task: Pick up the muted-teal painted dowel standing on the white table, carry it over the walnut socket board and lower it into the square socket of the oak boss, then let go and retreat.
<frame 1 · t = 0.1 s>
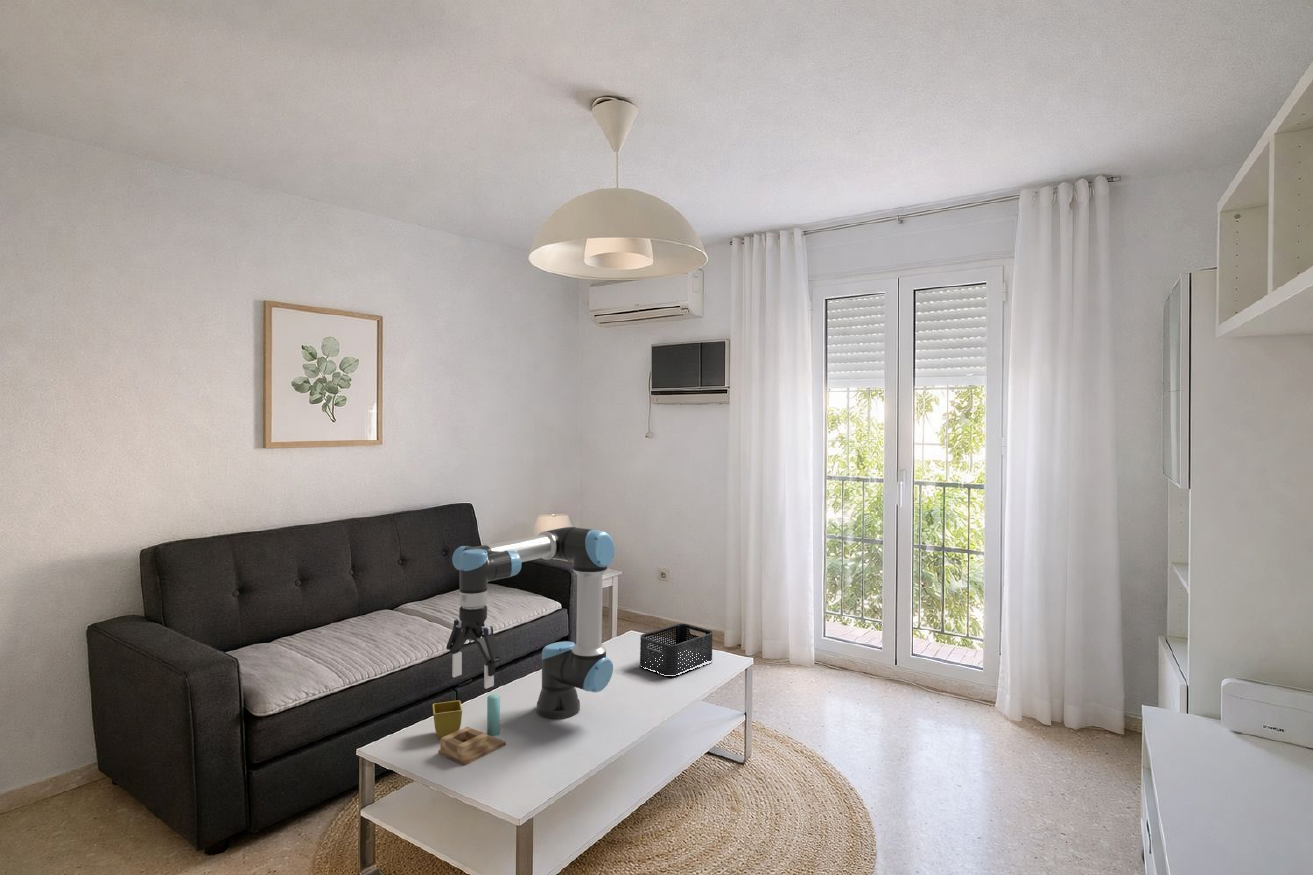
hand: (472, 681, 192), 28 cm above the table, fingers open, 13 cm apart
peg: (493, 733, 221), on the table
storage bin: (676, 665, 287), on the table
flower pot: (447, 734, 220), on the table
socket board: (464, 752, 208), on the table
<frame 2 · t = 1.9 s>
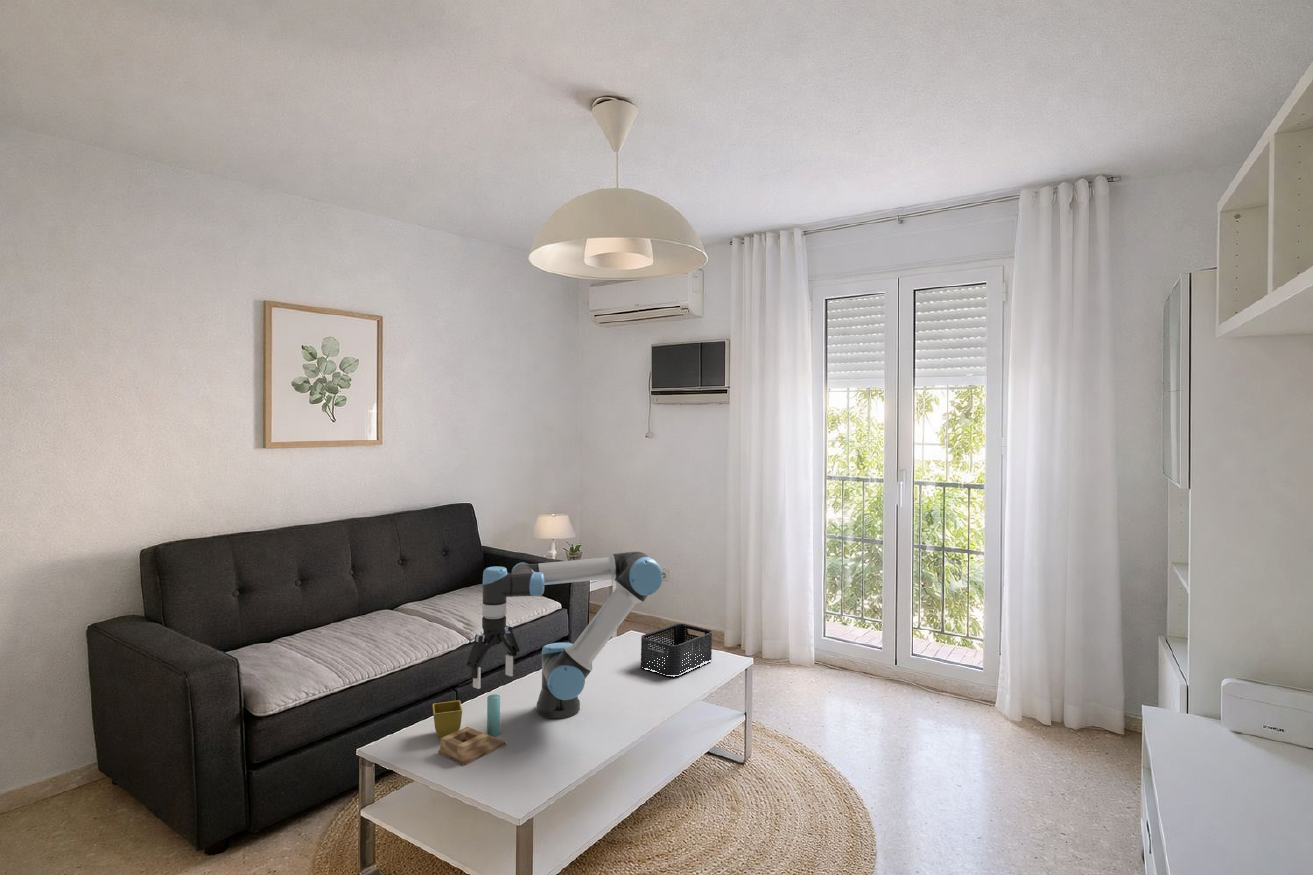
hand: (493, 681, 221), 17 cm above the table, fingers open, 13 cm apart
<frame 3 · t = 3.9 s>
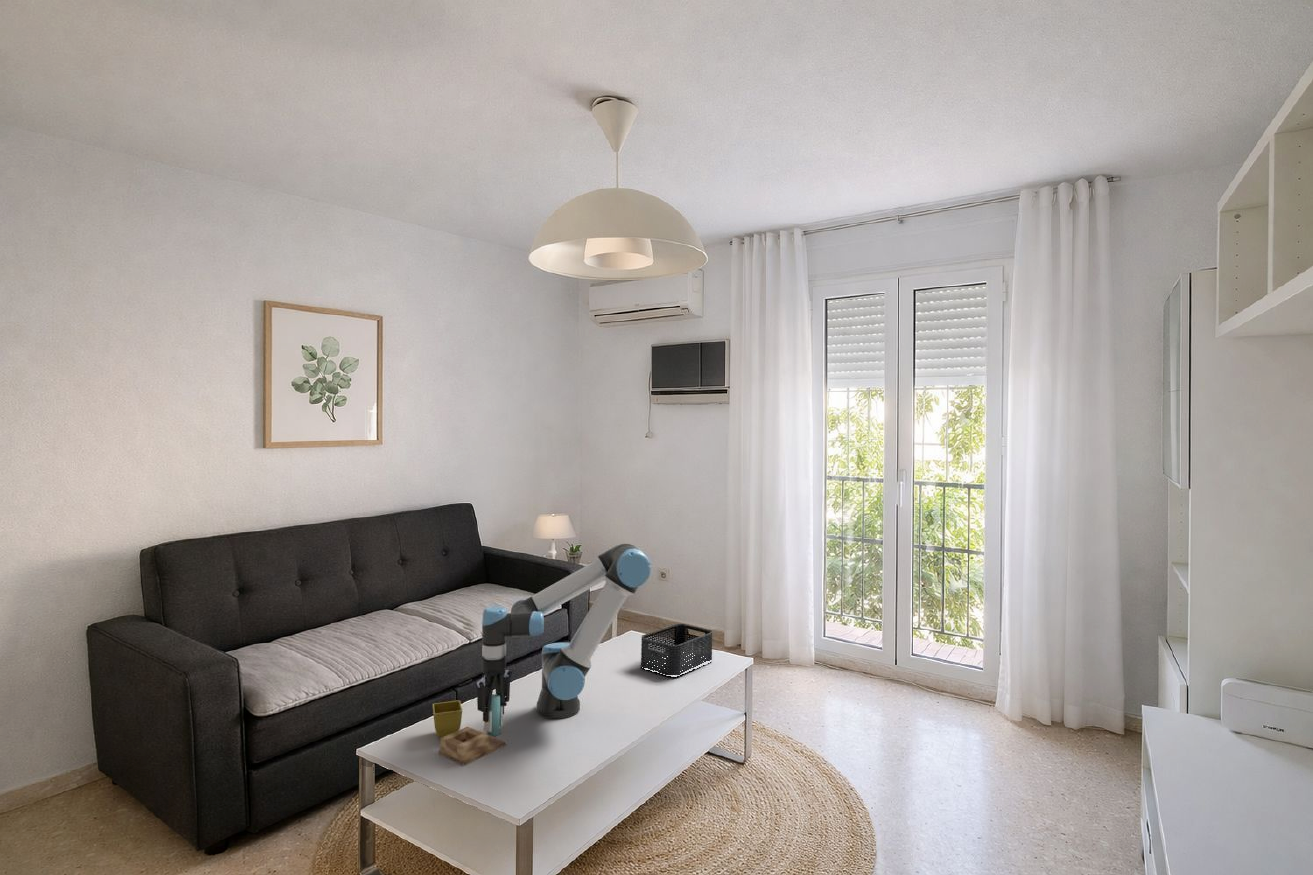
hand: (493, 727, 221), 2 cm above the table, fingers closed on peg, 4 cm apart
peg: (493, 733, 221), on the table, touching gripper
everything else where it was.
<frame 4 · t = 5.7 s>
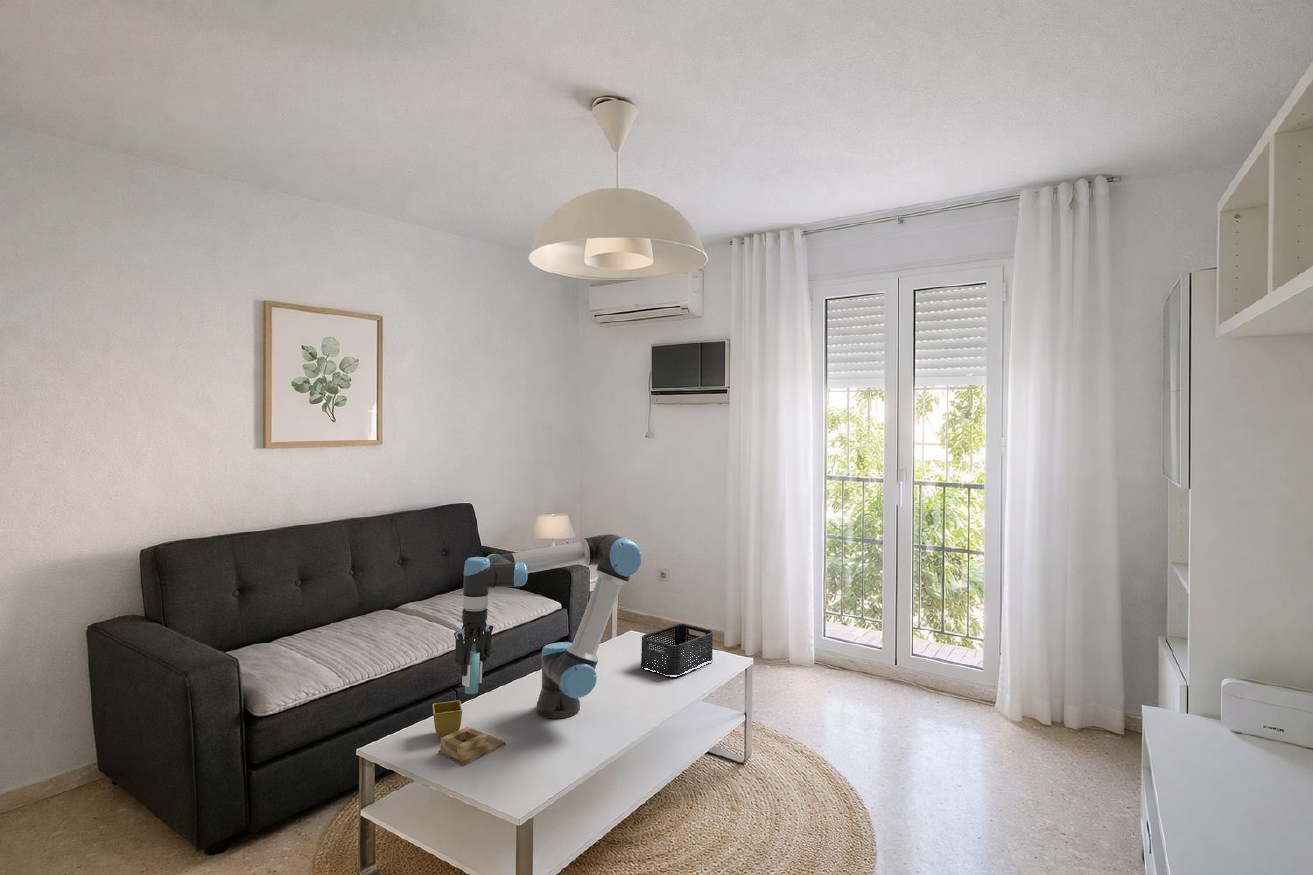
hand: (471, 683, 212), 20 cm above the table, fingers closed on peg, 4 cm apart
peg: (471, 691, 212), point 17 cm above the table, touching gripper
everything else where it was.
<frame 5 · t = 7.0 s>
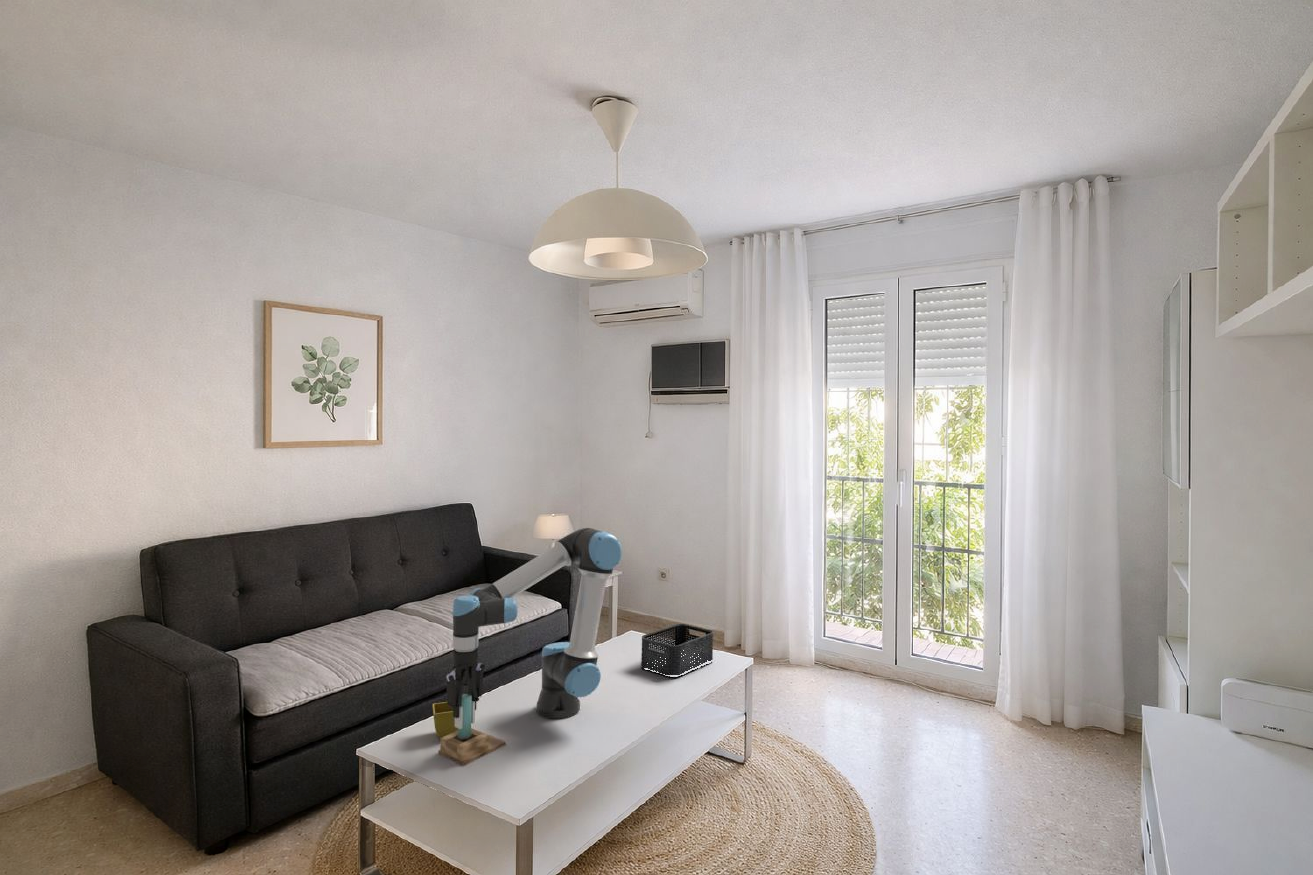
hand: (464, 724, 208), 9 cm above the table, fingers closed on peg, 4 cm apart
peg: (464, 735, 208), point 5 cm above the table, touching gripper
everything else where it was.
when the fingers open (5 cm above the table, at t = 7.9 s): peg stays where it is, resting on socket board.
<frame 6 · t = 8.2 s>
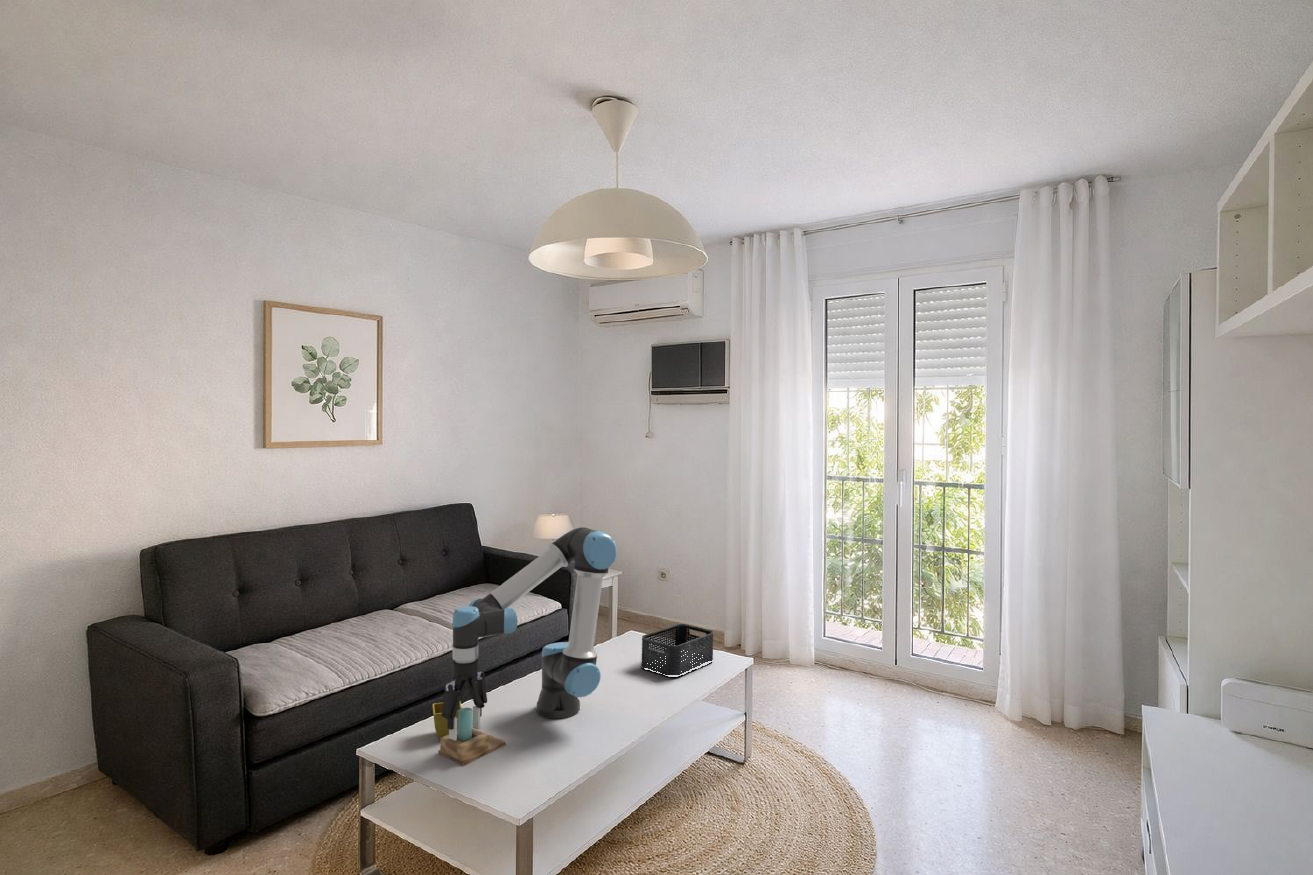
hand: (464, 733, 208), 6 cm above the table, fingers open, 8 cm apart
peg: (464, 749, 208), point 1 cm above the table, touching socket board
everything else where it was.
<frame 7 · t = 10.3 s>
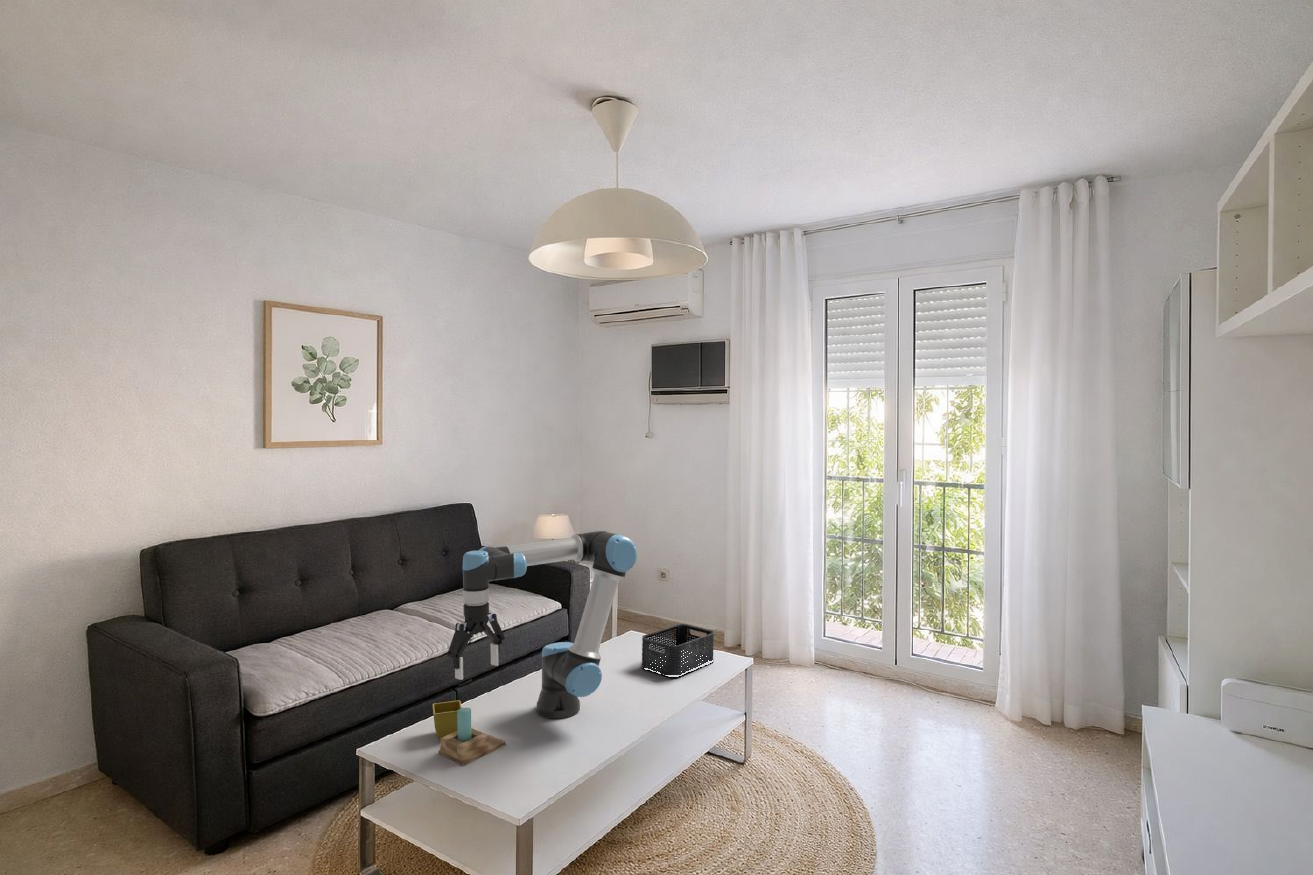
hand: (477, 671, 209), 24 cm above the table, fingers open, 13 cm apart
nothing on the table moved.
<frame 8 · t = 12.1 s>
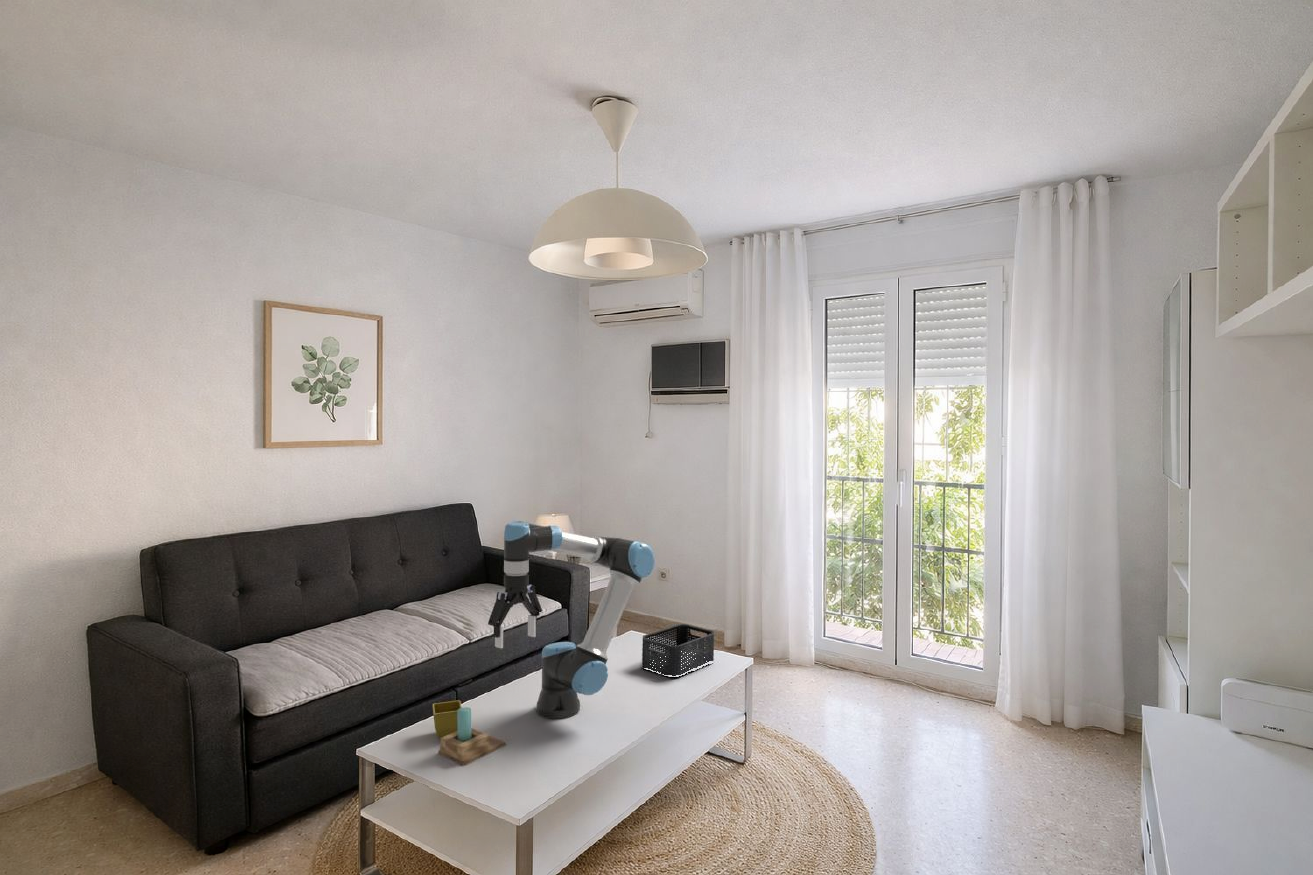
hand: (515, 641, 212), 33 cm above the table, fingers open, 13 cm apart
at the end: peg 0.1 cm off-centre on the socket board, point 1.1 cm above the socket board's base; peg tilted 2°; the gripper is holding nothing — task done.
